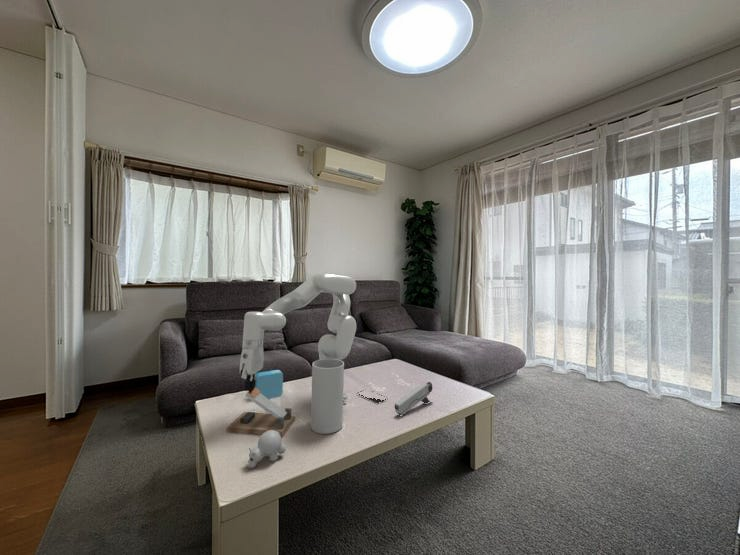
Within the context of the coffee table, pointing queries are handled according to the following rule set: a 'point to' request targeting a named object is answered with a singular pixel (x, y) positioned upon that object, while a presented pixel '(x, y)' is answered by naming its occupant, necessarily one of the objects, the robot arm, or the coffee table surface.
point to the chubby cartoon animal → (266, 448)
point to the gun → (414, 398)
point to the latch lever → (265, 403)
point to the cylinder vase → (327, 395)
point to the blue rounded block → (270, 383)
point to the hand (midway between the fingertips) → (249, 390)
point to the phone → (373, 398)
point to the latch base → (261, 423)
